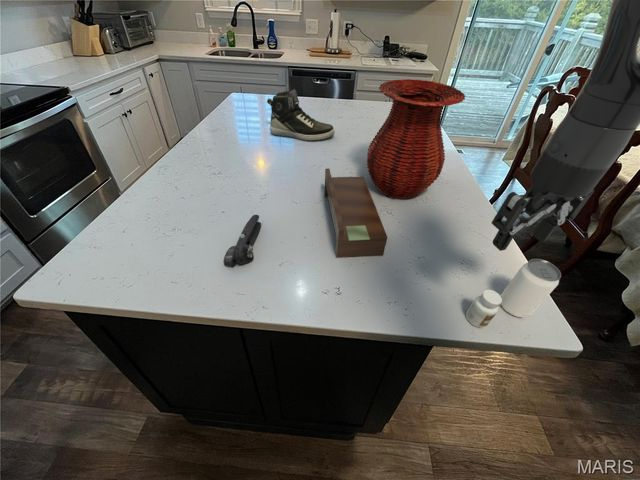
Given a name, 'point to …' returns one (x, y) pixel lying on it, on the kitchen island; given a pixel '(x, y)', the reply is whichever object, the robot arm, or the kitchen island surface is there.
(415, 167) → the vase
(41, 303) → the kitchen island surface
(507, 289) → the can
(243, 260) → the can opener
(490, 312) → the pill bottle
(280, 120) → the athletic shoe
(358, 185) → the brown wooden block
